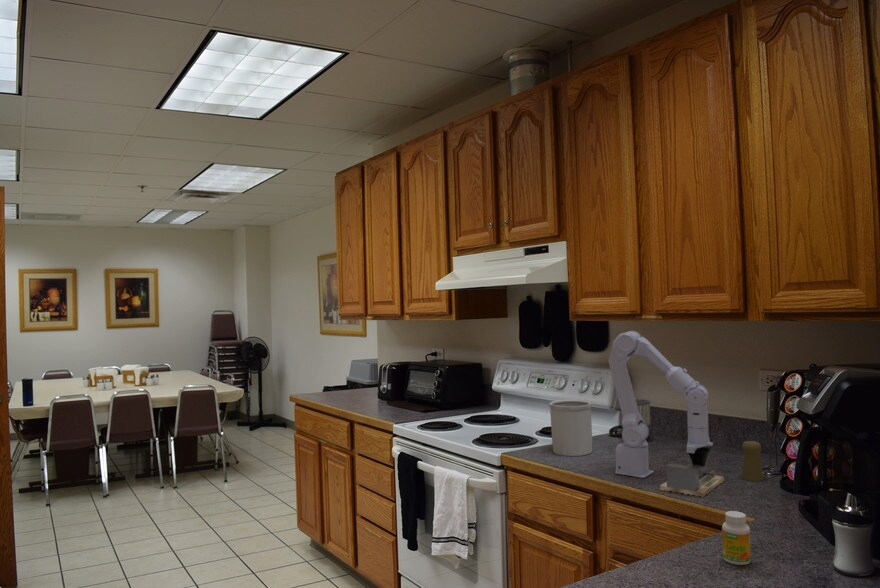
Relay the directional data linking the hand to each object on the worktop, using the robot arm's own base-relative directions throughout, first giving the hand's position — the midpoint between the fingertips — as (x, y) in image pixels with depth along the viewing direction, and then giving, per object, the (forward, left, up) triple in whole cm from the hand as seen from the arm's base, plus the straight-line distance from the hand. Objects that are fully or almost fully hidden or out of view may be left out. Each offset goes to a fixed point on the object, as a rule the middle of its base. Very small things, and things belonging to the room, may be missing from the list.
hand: (699, 472), depth 195 cm
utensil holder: (-48, +11, -3) cm, 49 cm away
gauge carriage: (+1, -4, -1) cm, 4 cm away
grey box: (0, -14, -1) cm, 14 cm away
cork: (+12, +11, -3) cm, 16 cm away
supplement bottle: (+25, -53, -3) cm, 59 cm away
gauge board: (0, -6, -2) cm, 6 cm away
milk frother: (-40, +42, -3) cm, 58 cm away
